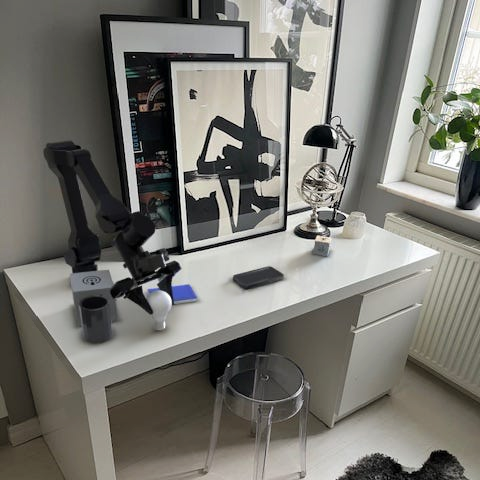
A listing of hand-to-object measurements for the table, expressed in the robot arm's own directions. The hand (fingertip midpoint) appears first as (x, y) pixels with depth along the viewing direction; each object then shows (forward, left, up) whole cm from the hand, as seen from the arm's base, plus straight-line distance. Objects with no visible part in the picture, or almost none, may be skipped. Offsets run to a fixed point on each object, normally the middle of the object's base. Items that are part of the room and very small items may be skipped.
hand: (162, 309), depth 124 cm
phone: (+30, +27, -7) cm, 41 cm away
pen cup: (-16, -1, -7) cm, 17 cm away
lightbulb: (-1, +1, -7) cm, 7 cm away
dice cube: (+56, +46, -7) cm, 73 cm away
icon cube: (-18, +10, -7) cm, 21 cm away
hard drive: (+3, +17, -7) cm, 19 cm away
